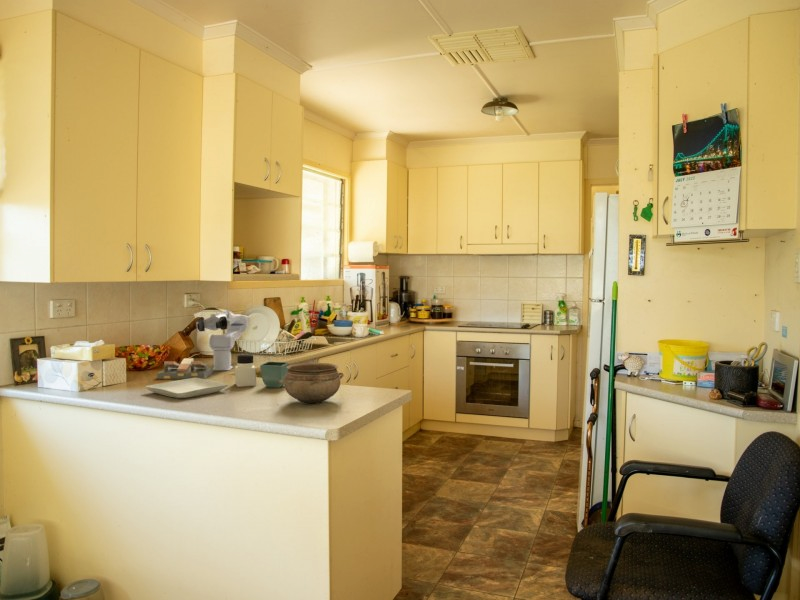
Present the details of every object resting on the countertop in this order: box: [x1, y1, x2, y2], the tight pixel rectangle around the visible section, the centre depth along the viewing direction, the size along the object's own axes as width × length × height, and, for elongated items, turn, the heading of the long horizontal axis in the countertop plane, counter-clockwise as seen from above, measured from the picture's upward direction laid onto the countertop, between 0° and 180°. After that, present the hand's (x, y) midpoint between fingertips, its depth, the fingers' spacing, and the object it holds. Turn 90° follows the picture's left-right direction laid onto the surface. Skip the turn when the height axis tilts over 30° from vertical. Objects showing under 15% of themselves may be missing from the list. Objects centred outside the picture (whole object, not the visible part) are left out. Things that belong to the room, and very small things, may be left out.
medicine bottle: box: [234, 353, 257, 388], centre depth 243 cm, size 7×7×12 cm
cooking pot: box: [279, 362, 344, 405], centre depth 212 cm, size 25×19×12 cm
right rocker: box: [191, 360, 207, 368], centre depth 263 cm, size 10×4×1 cm, turn 3°
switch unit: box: [156, 364, 214, 380], centre depth 263 cm, size 14×19×5 cm
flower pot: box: [259, 361, 290, 389], centre depth 240 cm, size 9×9×9 cm
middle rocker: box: [177, 357, 195, 372], centre depth 263 cm, size 10×4×1 cm, turn 3°
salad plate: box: [145, 378, 228, 399], centre depth 228 cm, size 21×21×3 cm
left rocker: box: [163, 360, 181, 368], centre depth 263 cm, size 10×4×1 cm, turn 3°
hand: (207, 326), depth 260 cm, fingers open, 7 cm apart
